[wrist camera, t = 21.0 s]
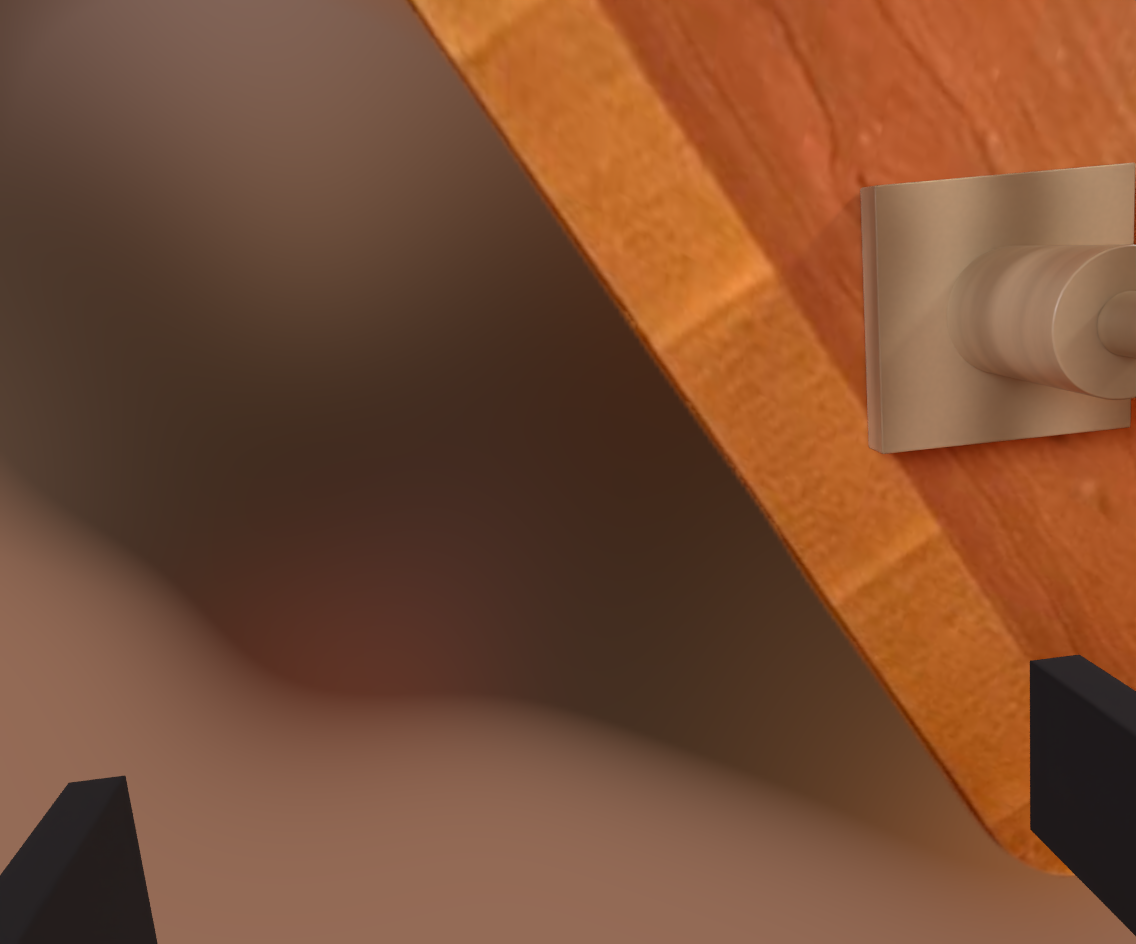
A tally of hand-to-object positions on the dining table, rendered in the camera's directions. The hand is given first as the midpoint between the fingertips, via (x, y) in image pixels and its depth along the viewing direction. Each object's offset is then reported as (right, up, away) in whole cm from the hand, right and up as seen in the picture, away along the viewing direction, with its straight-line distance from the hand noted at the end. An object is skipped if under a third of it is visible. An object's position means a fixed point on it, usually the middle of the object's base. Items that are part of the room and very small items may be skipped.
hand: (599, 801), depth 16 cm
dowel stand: (+16, +11, +27) cm, 33 cm away
